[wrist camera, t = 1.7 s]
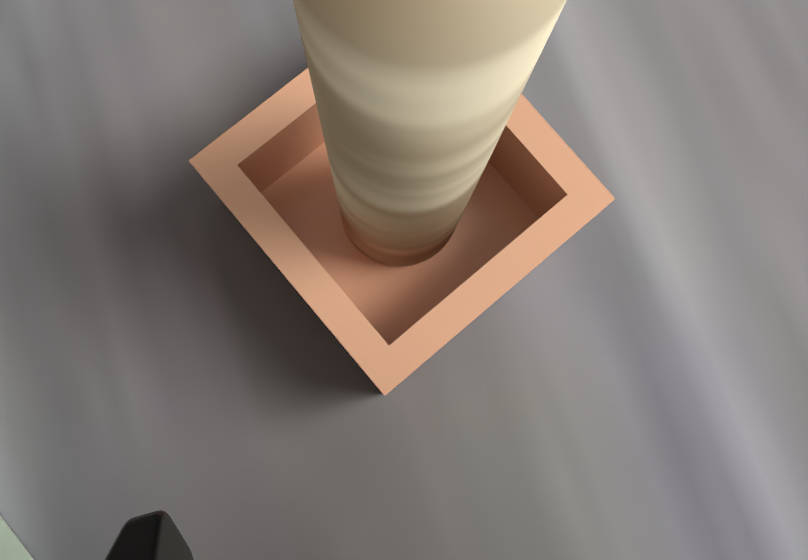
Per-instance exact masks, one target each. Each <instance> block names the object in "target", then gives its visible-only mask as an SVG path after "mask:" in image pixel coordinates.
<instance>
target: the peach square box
mask: <svg viewBox="0 0 808 560" xmlns="http://www.w3.org/2000/svg"><path fill="white" fill-rule="evenodd" d="M189 162H190V163H191V164H192V165H193V167H194V168H195V169H196V170H197V171H198V173H199V174H200V175H201V176H202V177H203V179H204V180H205V181H206V182H207V183H208V185H209V186H210V187H211V188H212V189H213V191H214V192H215V193H216V194H217V195H218V197H219V198H220V199H221V200H222V201H223V203H224V204H225V205H226V206H227V207H228V209H229V210H230V211H231V212H232V213H233V215H234V216H235V217H236V218H237V219H238V221H239V222H240V223H241V224H242V225H243V227H244V228H245V229H246V230H247V231H248V233H249V234H250V235H251V236H252V237H253V239H254V240H255V241H256V242H257V243H258V245H259V246H260V247H261V248H262V249H263V251H264V252H265V253H266V254H267V255H268V257H269V258H270V259H271V260H272V261H273V263H274V264H275V265H276V266H277V267H278V269H279V270H280V271H281V272H282V273H283V275H284V276H285V277H286V278H287V279H288V281H289V282H290V283H291V284H292V285H293V286H294V288H295V289H296V290H297V291H298V292H299V294H300V295H301V296H302V297H303V298H304V300H305V301H306V302H307V303H308V304H309V306H310V307H311V308H312V309H313V310H314V312H315V313H316V314H317V315H318V316H319V318H320V319H321V320H322V321H323V322H324V324H325V325H326V326H327V327H328V328H329V330H330V331H331V332H332V333H333V334H334V336H335V337H336V338H337V339H338V340H339V342H340V343H341V344H342V345H343V346H344V348H345V349H346V350H347V351H348V352H349V354H350V355H351V356H352V357H353V358H354V360H355V361H356V362H357V363H358V364H359V366H360V367H361V368H362V369H363V370H364V372H365V373H366V374H367V375H368V376H369V378H370V379H371V380H372V381H373V382H374V384H375V385H376V386H377V387H378V388H379V390H380V391H381V392H382V393H383V394H384V396H385V395H386V394H387V393H389V392H390V391H391V390H392V389H393V388H395V387H396V386H397V385H398V384H399V383H400V382H402V381H403V380H404V379H405V378H406V377H407V376H409V375H410V374H411V373H412V372H413V371H414V370H416V369H417V368H418V367H419V366H420V365H421V364H423V363H424V362H425V361H426V360H427V359H428V358H430V357H431V356H432V355H433V354H434V353H435V352H437V351H438V350H439V349H440V348H441V347H442V346H444V345H445V344H446V343H447V342H448V341H450V340H451V339H452V338H453V337H454V336H455V335H457V334H458V333H459V332H460V331H461V330H462V329H464V328H465V327H466V326H467V325H468V324H469V323H471V322H472V321H473V320H474V319H475V318H476V317H478V316H479V315H480V314H481V313H482V312H483V311H485V310H486V309H487V308H488V307H489V306H490V305H492V304H493V303H494V302H495V301H496V300H497V299H499V298H500V297H501V296H502V295H503V294H504V293H506V292H507V291H508V290H509V289H510V288H512V287H513V286H514V285H515V284H516V283H517V282H519V281H520V280H521V279H522V278H523V277H524V276H526V275H527V274H528V273H529V272H530V271H531V270H533V269H534V268H535V267H536V266H537V265H538V264H540V263H541V262H542V261H543V260H544V259H545V258H547V257H548V256H549V255H550V254H551V253H552V252H554V251H555V250H556V249H557V248H558V247H559V246H561V245H562V244H563V243H564V242H565V241H567V240H568V239H569V238H570V237H571V236H572V235H574V234H575V233H576V232H577V231H578V230H579V229H581V228H582V227H583V226H584V225H585V224H586V223H588V222H589V221H590V220H591V219H592V218H593V217H595V216H596V215H597V214H598V213H599V212H600V211H602V210H603V209H604V208H605V207H606V206H607V205H609V204H610V203H611V202H612V201H613V200H614V199H615V198H614V197H613V196H612V195H611V193H610V192H609V191H608V190H607V189H606V188H605V187H604V186H603V184H602V183H601V182H600V181H599V180H598V179H597V178H596V177H595V175H594V174H593V173H592V172H591V171H590V170H589V169H588V168H587V167H586V165H585V164H584V163H583V162H582V161H581V160H580V159H579V158H578V156H577V155H576V154H575V153H574V152H573V151H572V150H571V149H570V148H569V146H568V145H567V144H566V143H565V142H564V141H563V140H562V139H561V137H560V136H559V135H558V134H557V133H556V132H555V131H554V130H553V129H552V127H551V126H550V125H549V124H548V123H547V122H546V121H545V120H544V118H543V117H542V116H541V115H540V114H539V113H538V112H537V111H536V109H535V108H534V107H533V106H532V105H531V104H530V103H529V102H528V101H527V99H526V98H525V97H524V96H523V95H522V94H521V95H520V97H519V99H518V101H517V103H516V105H515V107H514V109H513V111H512V113H511V115H510V118H509V120H508V122H507V124H506V126H505V128H504V130H503V132H502V134H501V136H500V138H499V140H498V142H497V144H496V146H495V148H494V150H493V152H492V154H491V157H490V159H489V161H488V163H487V165H486V167H485V169H484V171H483V173H482V175H481V177H480V179H479V181H478V183H477V185H476V187H475V189H474V191H473V193H472V196H471V198H470V200H469V202H468V204H467V206H466V208H465V210H464V212H463V214H462V216H461V218H460V220H459V222H458V224H457V226H456V228H455V230H454V232H453V235H452V236H451V238H450V240H449V241H448V243H447V244H446V245H445V246H444V248H443V249H442V250H441V251H440V252H438V253H437V254H436V255H435V256H433V257H432V258H430V259H428V260H426V261H424V262H422V263H419V264H415V265H411V266H403V267H399V266H389V265H385V264H381V263H378V262H376V261H374V260H372V259H370V258H368V257H367V256H365V255H364V254H363V253H362V252H360V251H359V250H358V249H357V248H356V247H355V246H354V244H353V243H352V242H351V240H350V239H349V237H348V235H347V233H346V231H345V228H344V225H343V221H342V217H341V213H340V208H339V204H338V199H337V195H336V190H335V186H334V181H333V177H332V172H331V168H330V163H329V159H328V154H327V150H326V146H325V141H324V137H323V132H322V128H321V123H320V119H319V114H318V110H317V105H316V101H315V96H314V92H313V87H312V83H311V78H310V74H309V69H308V68H307V69H306V70H304V71H303V72H302V73H301V74H299V75H298V76H297V77H295V78H294V79H293V80H292V81H290V82H289V83H288V84H286V85H285V86H284V87H283V88H281V89H280V90H279V91H277V92H276V93H275V94H274V95H272V96H271V97H270V98H268V99H267V100H266V101H265V102H263V103H262V104H261V105H259V106H258V107H257V108H256V109H254V110H253V111H252V112H250V113H249V114H248V115H247V116H245V117H244V118H243V119H241V120H240V121H239V122H238V123H236V124H235V125H234V126H232V127H231V128H230V129H229V130H227V131H226V132H225V133H223V134H222V135H221V136H220V137H218V138H217V139H216V140H214V141H213V142H212V143H211V144H209V145H208V146H207V147H205V148H204V149H203V150H202V151H200V152H199V153H198V154H196V155H195V156H194V157H193V158H191V159H190V160H189Z"/></svg>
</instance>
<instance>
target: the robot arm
mask: <svg viewBox="0 0 808 560" xmlns="http://www.w3.org/2000/svg"><path fill="white" fill-rule="evenodd" d="M105 560H193V556H192V553H191V551H190V549H189V547H188V545H187V543H186V542H185V540H184V539H183V537H182V535H181V534H180V532H179V530H178V529H177V527H176V525H175V524H174V522H173V521H172V519H171V517H170V516H169V515H168V514H167V513H166V512H165V511H162V510H161V511H155V512H152V513H148V514H144V515H141V516H137V517H134V518H132V519H130V520H129V521H127V522H126V523H125V525H124V526H123V528H122V529H121V531H120V533H119V535H118V537H117V538H116V540H115V542H114V544H113V546H112V548H111V549H110V551H109V553H108V555H107V557H106V559H105Z"/></svg>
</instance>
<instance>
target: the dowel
mask: <svg viewBox="0 0 808 560" xmlns="http://www.w3.org/2000/svg"><path fill="white" fill-rule="evenodd" d="M293 2H294V7H295V11H296V16H297V20H298V25H299V29H300V34H301V38H302V43H303V47H304V52H305V56H306V61H307V65H308V69H309V74H310V78H311V83H312V87H313V92H314V96H315V101H316V105H317V110H318V114H319V119H320V123H321V128H322V132H323V137H324V141H325V146H326V150H327V154H328V159H329V163H330V168H331V172H332V177H333V181H334V186H335V190H336V195H337V199H338V204H339V208H340V213H341V217H342V221H343V225H344V228H345V231H346V233H347V235H348V237H349V239H350V240H351V242H352V243H353V244H354V246H355V247H356V248H357V249H358V250H359V251H360V252H362V253H363V254H364V255H365V256H367V257H368V258H370V259H372V260H374V261H376V262H378V263H381V264H385V265H389V266H399V267H403V266H411V265H415V264H419V263H422V262H424V261H426V260H428V259H430V258H432V257H433V256H435V255H436V254H437V253H438V252H440V251H441V250H442V249H443V248H444V246H445V245H446V244H447V243H448V241H449V240H450V238H451V236H452V235H453V232H454V230H455V228H456V226H457V224H458V222H459V220H460V218H461V216H462V214H463V212H464V210H465V208H466V206H467V204H468V202H469V200H470V198H471V196H472V193H473V191H474V189H475V187H476V185H477V183H478V181H479V179H480V177H481V175H482V173H483V171H484V169H485V167H486V165H487V163H488V161H489V159H490V157H491V154H492V152H493V150H494V148H495V146H496V144H497V142H498V140H499V138H500V136H501V134H502V132H503V130H504V128H505V126H506V124H507V122H508V120H509V118H510V115H511V113H512V111H513V109H514V107H515V105H516V103H517V101H518V99H519V97H520V95H521V93H522V91H523V89H524V87H525V85H526V83H527V81H528V78H529V76H530V74H531V72H532V70H533V68H534V66H535V64H536V62H537V60H538V58H539V56H540V54H541V52H542V50H543V48H544V46H545V44H546V42H547V39H548V37H549V35H550V33H551V31H552V29H553V27H554V25H555V23H556V21H557V19H558V17H559V15H560V13H561V11H562V9H563V7H564V5H565V3H566V0H293Z"/></svg>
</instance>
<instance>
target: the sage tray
mask: <svg viewBox="0 0 808 560" xmlns="http://www.w3.org/2000/svg"><path fill="white" fill-rule="evenodd" d="M0 560H34V559H33V558H32V557H31V555H30V554H29V553H28V551H27V550H26V549H25V547H24V546H23V545H22V543H21V542H20V541H19V540H18V538H17V537H16V536H15V534H14V533H13V532H12V530H11V529H10V528H9V526H8V525H7V524H6V523H5V521H4V520H3V519H2V517H1V516H0Z"/></svg>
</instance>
